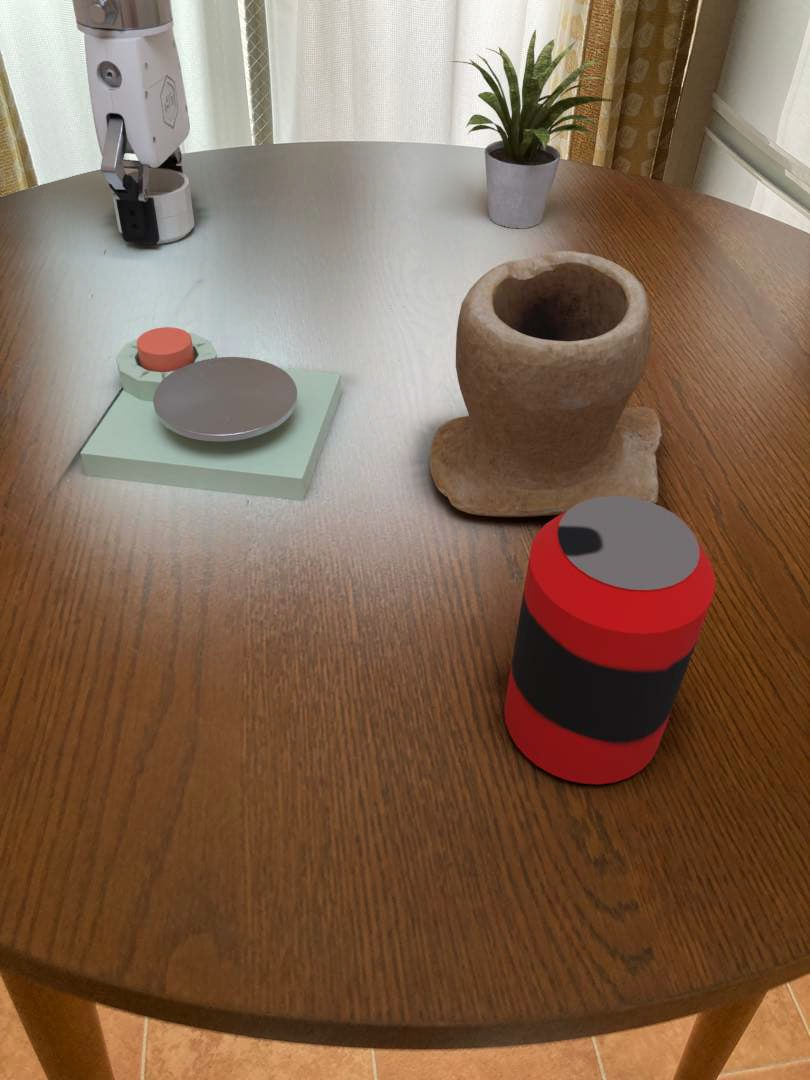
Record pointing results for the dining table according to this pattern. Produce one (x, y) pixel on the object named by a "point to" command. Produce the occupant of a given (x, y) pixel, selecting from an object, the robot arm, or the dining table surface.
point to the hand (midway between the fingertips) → (156, 222)
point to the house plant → (526, 136)
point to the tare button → (165, 349)
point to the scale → (224, 466)
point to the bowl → (168, 203)
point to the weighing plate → (225, 399)
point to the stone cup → (549, 390)
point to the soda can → (605, 637)
